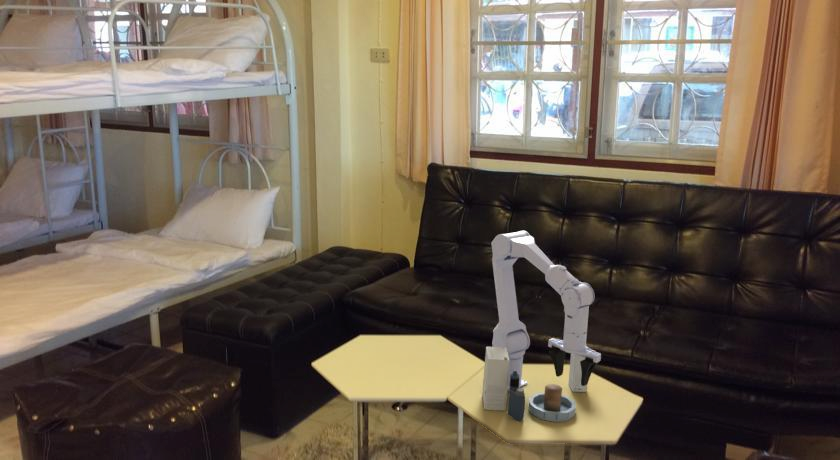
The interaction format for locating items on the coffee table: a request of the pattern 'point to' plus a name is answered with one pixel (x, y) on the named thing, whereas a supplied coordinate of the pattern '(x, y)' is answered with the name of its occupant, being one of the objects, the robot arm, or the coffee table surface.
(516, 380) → the vaping device
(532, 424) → the coffee table surface
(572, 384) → the skincare box
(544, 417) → the round tray
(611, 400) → the coffee table surface
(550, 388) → the brown cylinder
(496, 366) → the skincare box
